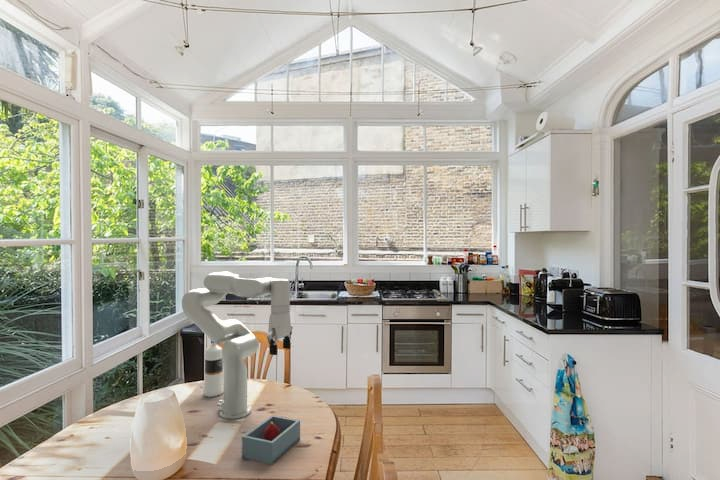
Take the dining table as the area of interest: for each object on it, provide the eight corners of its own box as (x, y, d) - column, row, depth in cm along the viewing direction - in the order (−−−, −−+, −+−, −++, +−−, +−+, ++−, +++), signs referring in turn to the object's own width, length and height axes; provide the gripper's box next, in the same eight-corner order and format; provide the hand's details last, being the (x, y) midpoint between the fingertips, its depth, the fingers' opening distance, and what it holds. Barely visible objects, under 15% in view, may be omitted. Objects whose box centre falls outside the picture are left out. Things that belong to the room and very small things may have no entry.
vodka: (204, 391, 194) (204, 329, 195) (224, 389, 197) (224, 328, 197) (201, 398, 185) (202, 333, 186) (222, 396, 188) (223, 332, 188)
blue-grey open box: (242, 457, 134) (242, 436, 134) (272, 433, 151) (272, 415, 151) (272, 464, 130) (272, 443, 130) (300, 439, 147) (300, 420, 147)
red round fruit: (283, 442, 142) (283, 419, 143) (275, 450, 137) (275, 426, 137) (269, 439, 144) (269, 417, 144) (260, 447, 139) (260, 424, 139)
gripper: (283, 305, 171) (283, 345, 171) (259, 312, 155) (259, 356, 155) (299, 306, 169) (299, 347, 168) (276, 313, 152) (276, 358, 152)
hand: (280, 351), depth 162 cm, fingers open, 9 cm apart
